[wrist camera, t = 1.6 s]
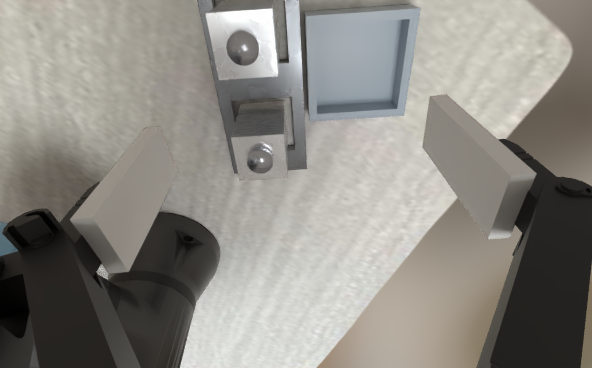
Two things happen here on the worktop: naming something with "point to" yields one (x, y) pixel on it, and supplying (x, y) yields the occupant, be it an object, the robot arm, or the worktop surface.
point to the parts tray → (359, 61)
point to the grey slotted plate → (266, 85)
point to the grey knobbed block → (261, 141)
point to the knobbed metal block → (245, 38)
